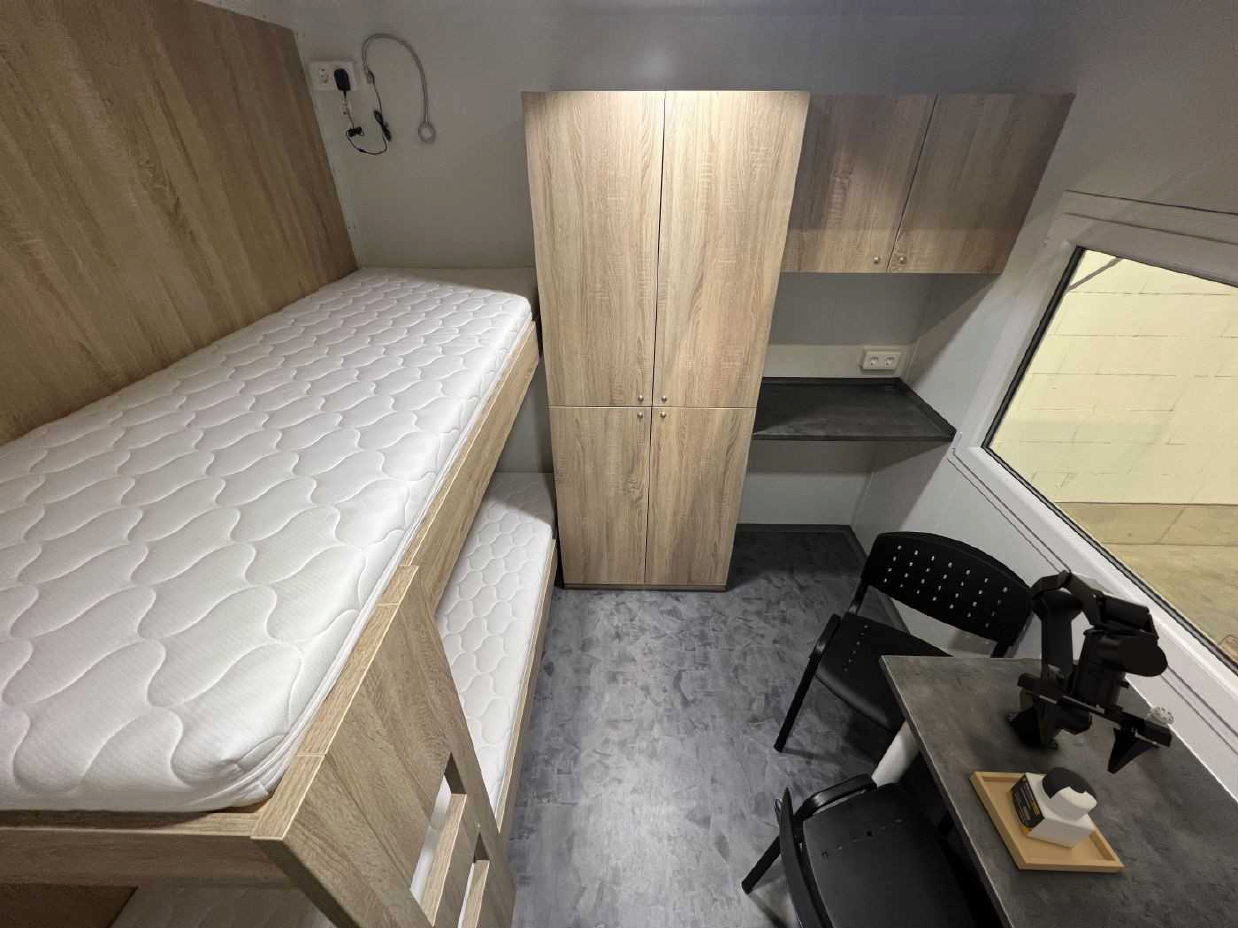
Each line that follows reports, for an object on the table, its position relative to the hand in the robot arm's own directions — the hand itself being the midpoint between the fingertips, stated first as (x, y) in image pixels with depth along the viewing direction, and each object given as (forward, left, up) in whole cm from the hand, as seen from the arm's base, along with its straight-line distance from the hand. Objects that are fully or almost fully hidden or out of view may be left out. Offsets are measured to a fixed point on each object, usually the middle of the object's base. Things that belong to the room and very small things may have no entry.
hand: (1076, 757), depth 80 cm
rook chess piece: (+29, +12, -13) cm, 34 cm away
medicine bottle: (-3, -4, -13) cm, 14 cm away
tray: (-3, -4, -13) cm, 14 cm away
